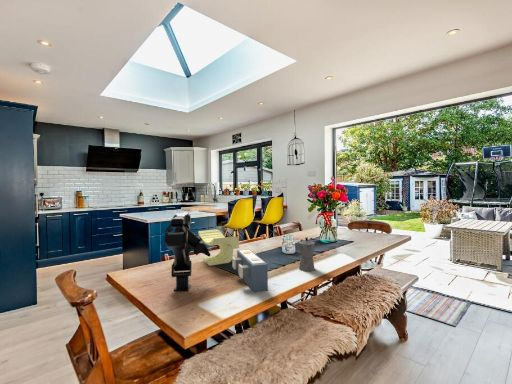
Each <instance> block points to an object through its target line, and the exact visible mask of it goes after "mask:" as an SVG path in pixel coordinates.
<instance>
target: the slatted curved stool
mask: <svg viewBox="0 0 512 384" xmlns="http://www.w3.org/2000/svg"><path fill="white" fill-rule="evenodd" d="M198 236H199V237H201V238H202V240H201V242H203V241H204V243H205V245H206V246H209V247H210V246H219V252H218V253H217V254H215V255H212V256H211V255H210V257H209V256H207V257H202V261H203V262H204V263H205V264H207V265H208V266H209V267H210V266H216V265H222V264H228V263H231V262H232V257H234V256H233V255H234V250H238V249H240V240H239V238H238V236H227V237H226V236H225V235H224V234H223V233H222V231H221V230H219V229H208V230H198Z"/></svg>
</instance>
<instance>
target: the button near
mask: <svg viewBox="0 0 512 384" xmlns="http://www.w3.org/2000/svg"><path fill="white" fill-rule="evenodd" d="M238 276H239V277H240V279H243V276H250V274H249V266H248V265H242V266H241V265H240V264H239V273H238Z"/></svg>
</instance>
